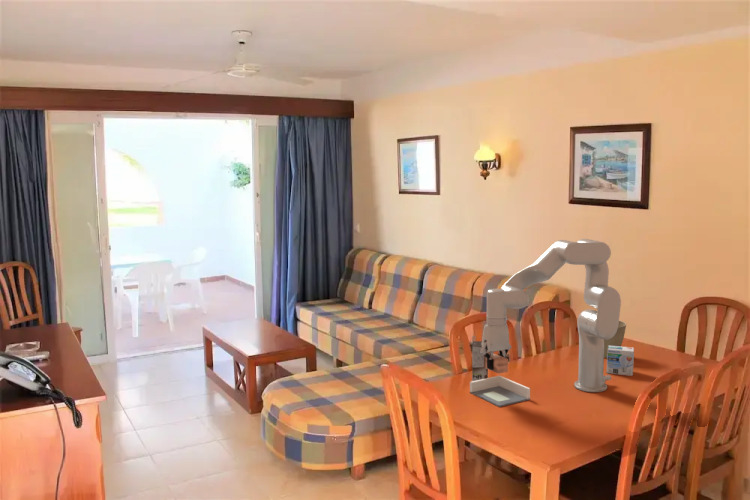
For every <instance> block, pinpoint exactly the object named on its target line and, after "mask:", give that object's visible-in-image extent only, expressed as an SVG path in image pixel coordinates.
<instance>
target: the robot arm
mask: <svg viewBox="0 0 750 500" xmlns="http://www.w3.org/2000/svg"><path fill="white" fill-rule="evenodd" d="M611 254H612V251H611V248H610V246H609V245H608V244H607V243H605V242H604V241H599V240H594V239H589V238H580V239H578V240H577V241H572V240H571V241H570V240H567V239H558V240H556V241H555V242H553V243H552V244H551V245H550V246H549V247H548V248H547V249H546V250H545V251H544V252H543V253H542V254H541V255H540V256H539V257H538V258H537V259H535V261H534V262H532V264H531V265H528V266H527V267H525V268H523V269H521V270H519V271H518V272H516V273H515V274H513V275H512V276H511V277H510V278H509V279H508V280H507V281H505V283H503V285H502V286H501V288H490V289H488V290H487V291H486V320H485V321H486V323H485V324H484V326H483V331H482V338H481V341H482V349H481V350H480V353H482V354H483V355H484V356H485V357H486V358H487V368H488V370H489V369H491V370H493V367H494V360H493V359H492V358H493V353H494V354H495V352H498V355H499V356H502V357H504V358H507V354H508V353H509V351H510V350H511V349H512V345H511V344H510V334H509V326H508V324H507V321H508V320H509V318H508V317H507V312H508V311H507V310H508V309H515V310H516V309H517V310H520V309H521V310H522V309H523V308H525V307H527V306H528V305H529V302H530V297H529V296H530V295H529V294H528V293H527V292H526V291H525V289H526V288H528V287H530V286H532V285H534V284H539V283H543V282H547V281H549V280H550V279H551V278H552V277H553V276H554V275H555V274H556V273H557V272H558V271H559V270H560V269H561V268H562V267H563V266H564V265H565V264H568V265H574V266H575V265H576V266H577V265H578V266H580V265H581V266H583V265H584V269H585V282H584V290H583V301H584V303H585V304H587V306H590V307H593V308H595V309H596V310H595V309H593V308H591V309H590V308H589V309H584V310H582V311H581V312H580V313H579V315H578V317H577V321H576V323H577V331H578V374H577V375H578V376H577V380H576V381H574V384H573V387H575V389H577V390H579V391H583V392H588V393H601V392H604V391H607V389H608V384H606V381H610V380H612V376H611V374H608V375H607V374H606V375H604V366H605V365H604V362H605V358H604V340H603V339H605V340H607V339H611V338H612V337H613V336H614V335H615V334H616V332H617V329H618V324H619V321H620V315H621V314H620V313H621V306H622V304H621V303H622V299H621V295H620V292H618V289H615V288H614V287H612V286H609V274H610V273H609V271H610V270H609V265H608V262H607V261H609V259H610V257H611ZM486 350H487V352H486ZM489 354H490V355H489ZM491 370H490V371H491Z"/></svg>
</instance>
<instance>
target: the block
mask: <svg viewBox="0 0 750 500" xmlns="http://www.w3.org/2000/svg"><path fill="white" fill-rule="evenodd" d="M489 355H490V354H489ZM492 359H493V360H494V367H493V370H491V369H488V368H487V358H486V357H485V356H484V368H486V369H488V371H491V372H493V373H496V374H498V375H499V374H503V373H508V372H509V359H508V358H507V357H502V356H499V354H497V353H495V352H494V353H493V358H492Z"/></svg>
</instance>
